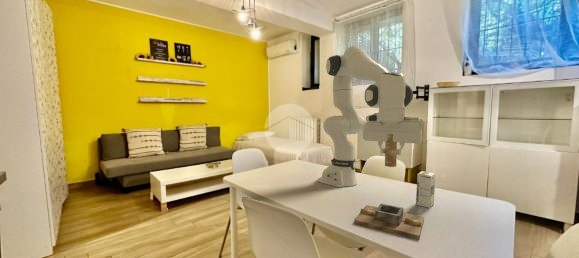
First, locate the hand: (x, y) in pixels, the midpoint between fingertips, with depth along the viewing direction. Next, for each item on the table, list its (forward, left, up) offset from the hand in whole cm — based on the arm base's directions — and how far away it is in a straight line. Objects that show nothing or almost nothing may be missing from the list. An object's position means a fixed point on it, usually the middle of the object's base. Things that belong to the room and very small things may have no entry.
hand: (390, 153), depth 91 cm
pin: (0, 0, -4) cm, 5 cm away
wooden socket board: (0, 0, -26) cm, 26 cm away
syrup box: (+10, +25, -27) cm, 38 cm away
